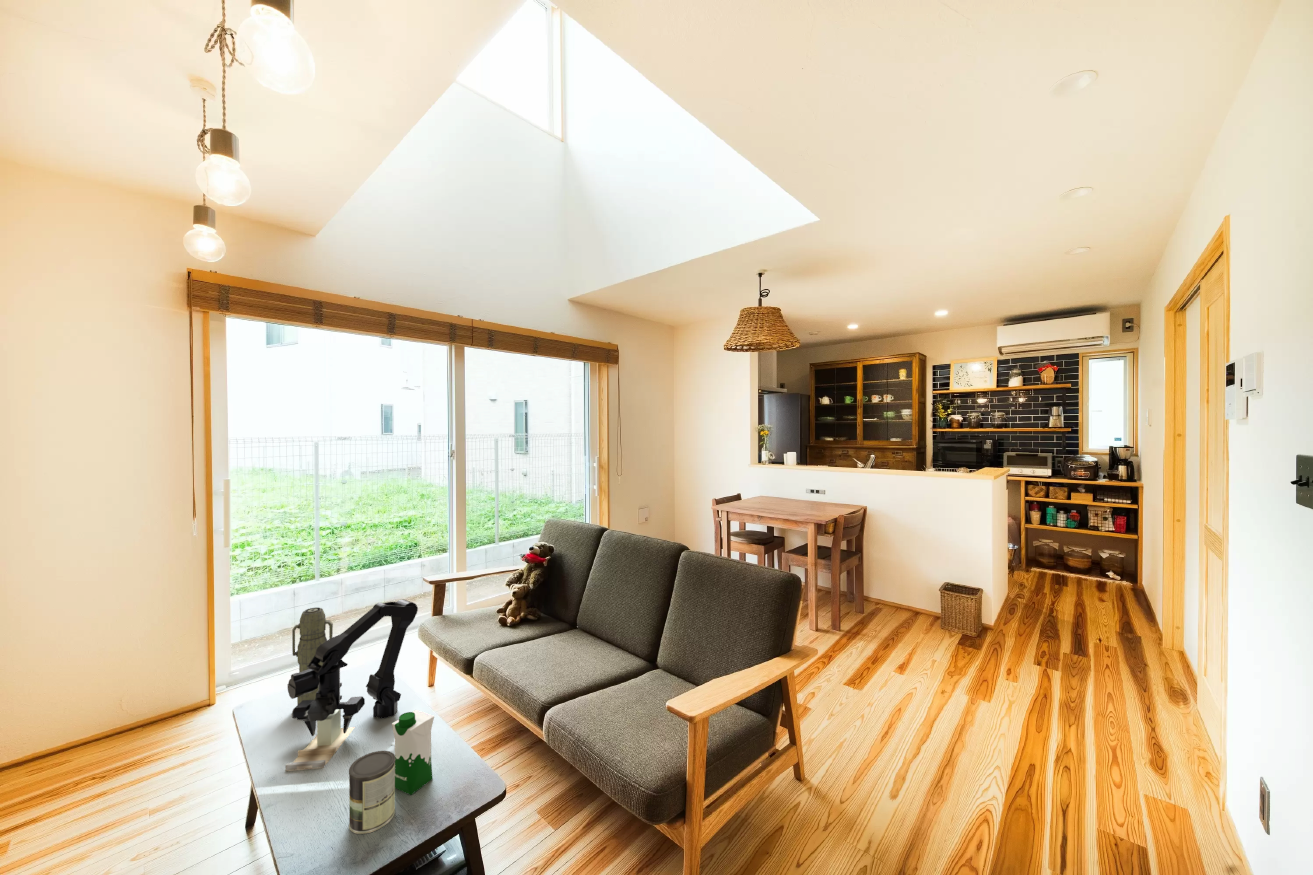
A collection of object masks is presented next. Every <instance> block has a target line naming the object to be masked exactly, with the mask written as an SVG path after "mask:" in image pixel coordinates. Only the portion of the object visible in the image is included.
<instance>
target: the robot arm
mask: <svg viewBox="0 0 1313 875" xmlns="http://www.w3.org/2000/svg"><path fill="white" fill-rule="evenodd" d="M418 611H419V607H418V605H417V604H416V603H415V602H412V601H410V600H407V599H404V598H403V599H402V598H401V599H398V600H396V601H387V602H377V603H375V604H374V605H373V606H372V608H371V609H369V611H367V612H366V613H365V614H364V615H363V614H362V616H361V617H360V618H358V619H357V620H356V621H355V622H354V623H352V624H351V625H350V626H349V627H348V628H347V629H346V630H344V631H343V632H341V633H340V634H338V635H335V636H332V638H331V639H327V641H326V642H324V643H323V644H321V645H320V646H319V647H318V648H317V649H316V654H315V656H314V657H313V659H312V660H311V662H310V663H309V665H308V666H307V668H309V669H308V670H305V671H302V672H299V671H298V672H295V673H292V674H291V675H290V679H289V680H288V683H287V687H286V688H287V692H288V695H289V697H290V699H292V700H293V699H296V698H297V697H299V696H302V695H304V694H307V693H310V692H312V691H315V689H317V688H318V692H316V698H315V700H302V701H301V702H300V703H299V704H298V705H296V706H295V707H294V708H293V709H292V712H291V717H292V719H296V720H297V721H301V722H303V723H304V724H305V726H306V727H307V729H308V731H309V733H310V735H311V737H313V736H314V737H315V734H316V731H317V721H323V720H325V719H326V718H327V717H328V716H329V715H330V714H334V712H335V710H336V709H341V710H343V711H342V713H343V715H341V717H342V718H343V725H342V726H343V727H342V728H343V732H344V733H346V732H347V729H348V728H349V727H350V724H351V722H352V719H353V717H354V715H357V714H358V713H359V712H360V711H361V710H362V708H363V707H364V705H365V704H366V702H365V701H366V698H364V696H351V697H350V698H349V699H348V700H347V701H341V700H342V699H343V695H341V687H342V686H343V685H342V684H343V682H341V669H342V668H344V667H347V666H348V665H349V664H348V663H347V662H345V661H343V658H344V657H345V656H346V655H347V654H348V652H349V650H350V648H351V647H352V645H353V644H354V643H355V642H357V641H358V640H359V639H360V638H361V637H362V636H363V635H365V634H366V633H367V632H368V631H370V630H371V628H372V627H374V626H375V625H377V624H378V622H380V621H381V620H382V619H383V618H385V617H391V618H390V620H391V628H390V631H389V635H388V638H387V642H386V644H385V648H384V651H383V654H382V657H381V661H380V665H379V667H378V670H377V671H376V672H375V673H374V674H372V673H371V674H370V675H369V679H368V682H367V683H366V685H365V688H366V692H367V694H368V696H369V697H372V699H373V700H375V701H374V705H373V708H372V717H373V718H378V719H387V718H390V717H394V716H395V715H396V713H397V712H398V705H399V704H398V702H399V701H400V700H401V696H402V693H400V692H398V691H397V690H395V683H396V680H395V669H396V665H397V662H398V659H399V655H400V654H401V653H400V652H401V649H402V646H403V643H404V642H403V641H404V639H405V635H406V633H407V630H408V627H409V626H410V625H412V623H413V622H414V619H415V618H416V616H417V614H418ZM319 662H322V663H323V665H322V666H321V665H319V664H318V663H319Z"/></svg>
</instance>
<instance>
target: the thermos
mask: <svg viewBox="0 0 1313 875" xmlns="http://www.w3.org/2000/svg"><path fill="white" fill-rule="evenodd" d="M324 611H325V610H324V608H322V607H310V608H307V609H305V610H303V611H302V613H301V615H300V619H299V623H298V624H295V625H294V626H293V628H292V630H291V631H292V633H291V634H292V636H291V637H292V640H291V641H292V642H291V643H292V650H291V651H292V652H291V653H292V656H296V658H297V663H298V670H299V671H298V673H299V672H302V671H305V670H308V669H309V668H307V666H308V665H309V663H310V662H311V660H312V659H313V657H314V656H315V654H316V649H317V648H318V647H319V646H320V645H321V644H323V643H324V642H326V641H327V640H329V639H331V638H333V630H334V629H333V628H334V623H333V622H332V621H331V620H330V619H329V620H327V619H326V613H325V612H324ZM327 625H328V626H329V627H328V628H329V631H328V633H329V637H328V638H329V639H327V636H326V626H327ZM297 629H298V630H299V635H300V636H299V642H298V645H297V650H296V630H297ZM318 664H319V665H321V666H322V665H323V663H322V662H319V663H318ZM316 692H318V688H317V689H315V691H312V692H310V693H307V694H304V695H302V696H299V697H296V698H297V699H296V700H297V701H296V702H297V703H296V704H297V705H298V704H299V703H300V702H301V701H302V700H315V698H316ZM297 705H296V706H297Z"/></svg>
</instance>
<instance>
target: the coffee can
mask: <svg viewBox="0 0 1313 875" xmlns="http://www.w3.org/2000/svg"><path fill="white" fill-rule="evenodd" d="M348 776H349V777H348V779H349V780H348V783H349V785H348V788H349V789H348V792H349V794H348V795H349V796H348V797H349V804H348V805H349V809H348V810H349V813H348V814H349V816H348V817H349V820H348V829H349V830H350V831H351V832H352V833H354V834H357V835H365V834H370V833H373V832H376V831H378V830H380V829H382V828H383V827H385V826H386V825H387V824H389V822H391V821H392V819H393V818H394V816H395V814H396V808H395V806H396V804H395V803H396V802H395V800H396V796H395V793H396V792H395V791H396V788H395V753H393V752H392V751H388V750H377V751H372V752H369V753H367V754H364V755H362V756H360V757H358V758H357V759H356V760H355V761H353V762H352V763H351V764H350V766H349V769H348Z"/></svg>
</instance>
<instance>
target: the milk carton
mask: <svg viewBox="0 0 1313 875" xmlns="http://www.w3.org/2000/svg"><path fill="white" fill-rule="evenodd" d="M434 719H435V715H433V714H429V713H427V712H425V711H420V710H417V709H415V710H413V711H407V712H404V713H402V714H401V715H399V717H398V719H397V720H395V721H394V722H392V723H391V728H392V733H393V738H394V755H395V790H399V791H401V792H403V793H404V794H408V795H409V796H413V795H414V794H415V793H416V792H418V790H420V789H421V788H423V787H424V786H426V785H427V784H428V783H429V782H430V781H432V780H433V766H432V765H433V764H432V727H433V724H434Z"/></svg>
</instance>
